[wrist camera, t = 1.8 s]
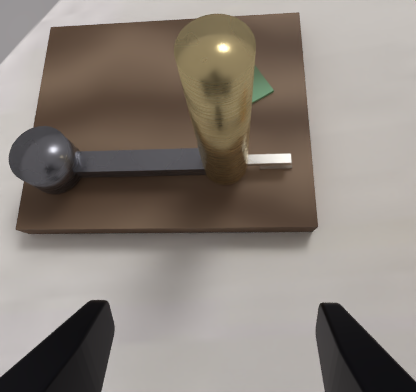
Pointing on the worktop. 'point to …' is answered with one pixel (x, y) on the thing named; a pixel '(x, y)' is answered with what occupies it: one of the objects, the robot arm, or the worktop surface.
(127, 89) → the dial board
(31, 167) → the tuning lever
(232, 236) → the worktop surface
